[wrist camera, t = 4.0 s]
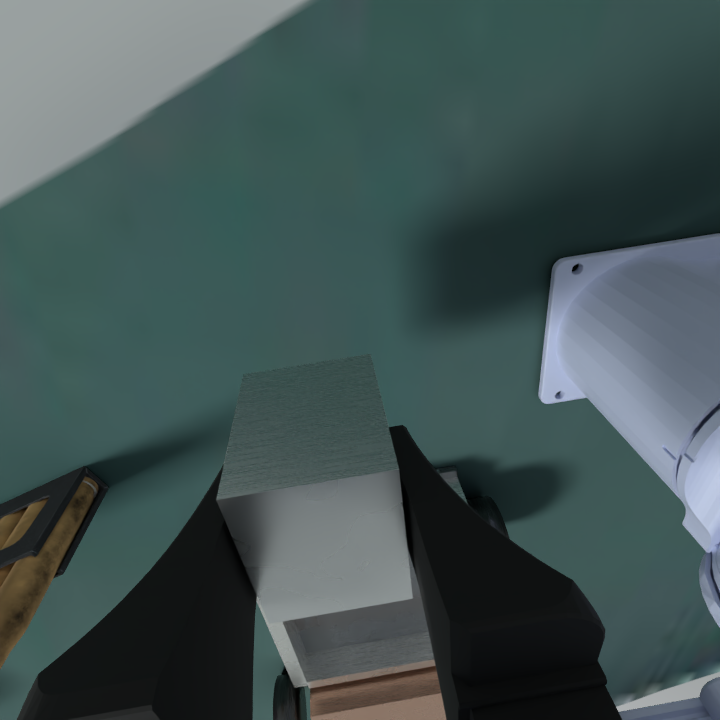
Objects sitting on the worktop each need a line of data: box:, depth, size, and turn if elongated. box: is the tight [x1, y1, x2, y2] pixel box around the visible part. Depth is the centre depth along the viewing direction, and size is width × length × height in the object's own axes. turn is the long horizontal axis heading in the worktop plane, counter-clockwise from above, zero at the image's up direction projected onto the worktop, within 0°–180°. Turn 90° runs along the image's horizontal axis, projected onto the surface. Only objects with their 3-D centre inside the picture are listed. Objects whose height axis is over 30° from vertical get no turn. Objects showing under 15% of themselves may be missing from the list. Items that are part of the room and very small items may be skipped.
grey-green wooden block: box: [216, 354, 413, 624], centre depth 13 cm, size 4×5×5 cm
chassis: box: [256, 466, 509, 720], centre depth 30 cm, size 17×24×5 cm
